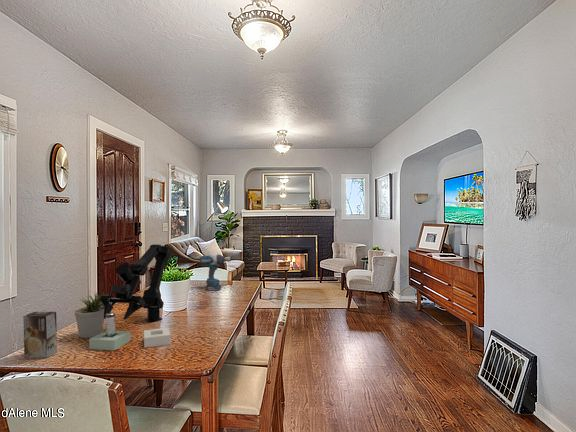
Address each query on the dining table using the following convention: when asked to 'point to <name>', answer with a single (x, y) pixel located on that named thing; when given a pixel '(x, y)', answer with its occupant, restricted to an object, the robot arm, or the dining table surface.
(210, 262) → the impact wrench
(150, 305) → the robot arm
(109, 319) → the metal cylinder
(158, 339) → the socket block
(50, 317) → the coffee box
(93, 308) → the potted plant
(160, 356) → the dining table surface
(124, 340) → the block
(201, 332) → the dining table surface
